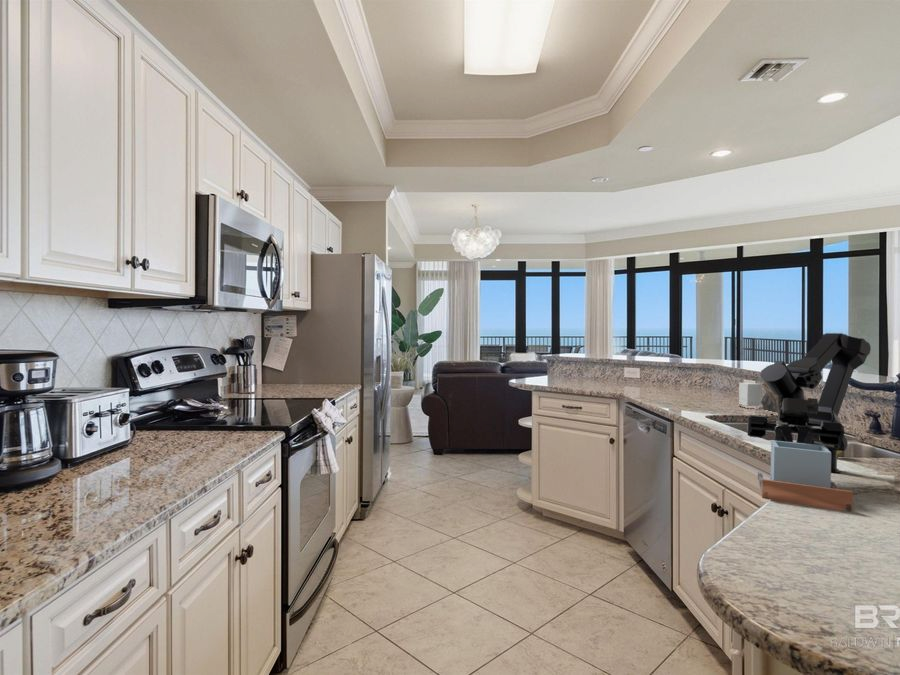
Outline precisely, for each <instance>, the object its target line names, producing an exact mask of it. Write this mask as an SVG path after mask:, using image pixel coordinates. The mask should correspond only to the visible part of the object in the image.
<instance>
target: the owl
mask: <svg viewBox="0 0 900 675" xmlns="http://www.w3.org/2000/svg"><path fill="white" fill-rule="evenodd" d="M763 388H764V390H765V393H764V395H763V396H762V397H763V398H761V407H762V409H764V410H768V411H772V412H777V413H778V405H777V395H776V394H774V393H772V392H771V391H770V389H769V388H768V386H767V385H766V384H765V382H764V381H763ZM764 410H763V411H764Z"/></svg>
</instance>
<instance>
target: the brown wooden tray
mask: <svg viewBox="0 0 900 675" xmlns="http://www.w3.org/2000/svg"><path fill="white" fill-rule="evenodd" d="M757 480H758V483H759V484H758V485H759V487H760V491H761V499H765V500H771V501H779V502H784V503H785V502H786V503H792V504H798V505H804V506H811V507H813V506H814V507H819V508H825V509H830V510H831V509H833V510H839V511H846V512H853V500H854V499H853V490H845V489H841V488H840V489H839V487H838V486H837V484H835V483H834V481H831V488H825V487H818V486H810V485H803V484H795V483H788V482H780V481H773V480H770V479H765V478H764V476H763V472H759V471H758V472H757Z"/></svg>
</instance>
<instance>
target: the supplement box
mask: <svg viewBox="0 0 900 675" xmlns="http://www.w3.org/2000/svg"><path fill="white" fill-rule="evenodd" d="M738 384H739V385H738V386H739V391H738V399H739V400H738V405H739V404H742V405H747V406H759V405H761V406H762V403H761V401H762V397H763V396H762V394H763V393H762V388H763V387H762V386H763V385H762V384H761V383H756V382H739V383H738Z"/></svg>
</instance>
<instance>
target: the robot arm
mask: <svg viewBox="0 0 900 675" xmlns="http://www.w3.org/2000/svg"><path fill="white" fill-rule="evenodd" d="M870 353H871V344H870V342H868V341H867V340H866V339H865V338H862V337H861V338H860V337H854V336H849V335H847V334H845V333H843V332H839V333H837V332H833V333H832V332H831V333H830V332H826V333H824V334H821V336H820V339H819V341H818V342H817V343H816V344H815V345H814V346H813V347H812V348H811V349H810V350H809V351H808V352H807V353H806V354H805V355H804V356H803V357H802V358H801V359H797V360H793V361H791V362H790V363H789V364H787V363H786V362H785V361H783V360H775V361H774V363H773V364H770V365H767V366H766V367H764V368H763V369H761V370H760V378H761V379H762V381H763V383H764V382H765V384H766V385H767V386H768V388H769V389H770V391H771V392H772V393H774V394H776V395H777V405H778V416H777V418H778V420H776V421H775V422H774V423H773V422H768V417H767V415H766V416H763V415H753V414H750V415H749V416H748V417H747V428H746V429H747V436H748V437H750V438H751V437H752V438H764V437H765V436H766V432H771V433H774V441H784V442H794V440H793V435H797V436H796V440H795V443H804V444H814V445H824V446H825V447H826V448H827V449H828V450H829V451H830V452H831V474H837V475H838V474H839V475H840V474H841V470H839V468H838V454H837V451H842V452H844V451H845V452H846V451H847V447H848V439H847V438H846V435H845V426H844V425H843V424H842V423H841V420H840V419H839V413H840V411H841V408H842V405H843V402H844V399H845V396H846V393H847V390H848V387H849V385H850V381H851V379H852V376H853V372H854V371H855V370H856V369H858V368H859V367H860V366H862V365H863V364H865V361H866V360H867V357H868V356H869V355H870ZM830 361H831V363H832V364H831V366H830V369H829V371H828V375H827V378H826V381H825V383H824V386H823V388H822V391H821V394H820V397H819V400H818V398H815V397H814V398H813V397H808V398H807V399H806V398H805V391H804V389H810V390H811V389H816V387H818V385H819V384H820V383H821V381H822V378H823V375H822V373H821V372H822V371H823V370H824V368H825V367H826V366H827V365H828V364H829V363H830Z"/></svg>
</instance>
